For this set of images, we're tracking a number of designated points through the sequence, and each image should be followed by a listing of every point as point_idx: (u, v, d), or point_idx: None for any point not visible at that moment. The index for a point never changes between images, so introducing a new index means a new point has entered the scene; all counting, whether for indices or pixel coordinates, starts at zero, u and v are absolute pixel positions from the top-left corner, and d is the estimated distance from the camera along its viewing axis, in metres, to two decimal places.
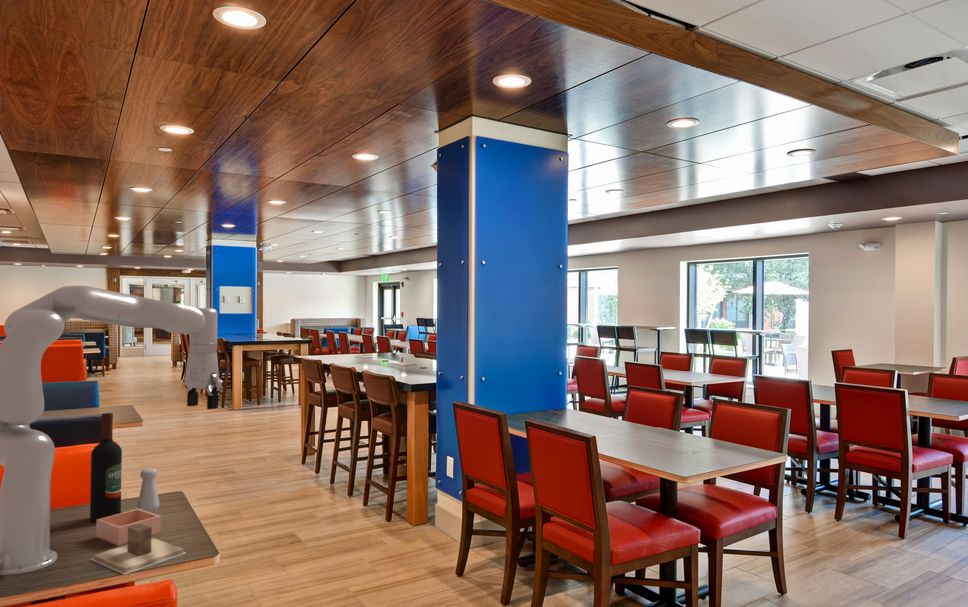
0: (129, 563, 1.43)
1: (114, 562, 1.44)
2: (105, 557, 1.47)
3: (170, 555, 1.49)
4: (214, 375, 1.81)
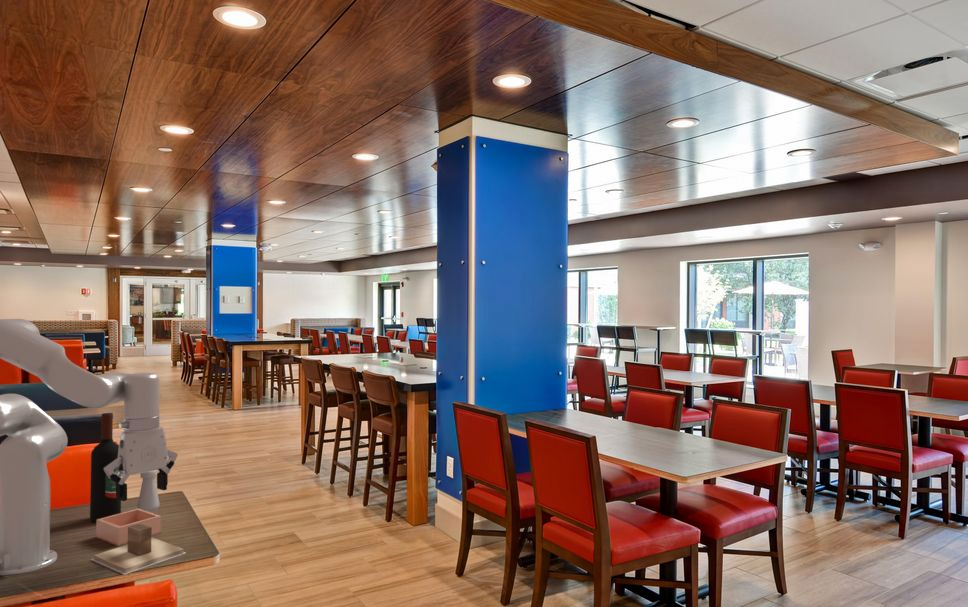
0: (129, 563, 1.43)
1: (114, 562, 1.44)
2: (105, 557, 1.47)
3: (170, 555, 1.49)
4: None
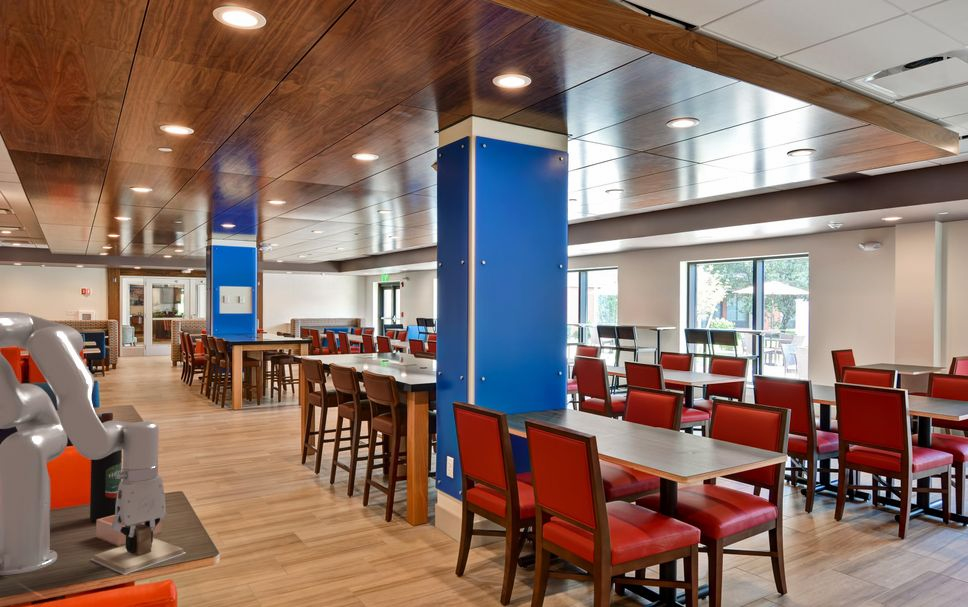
0: (129, 563, 1.43)
1: (114, 562, 1.44)
2: (105, 557, 1.47)
3: (170, 555, 1.49)
4: None
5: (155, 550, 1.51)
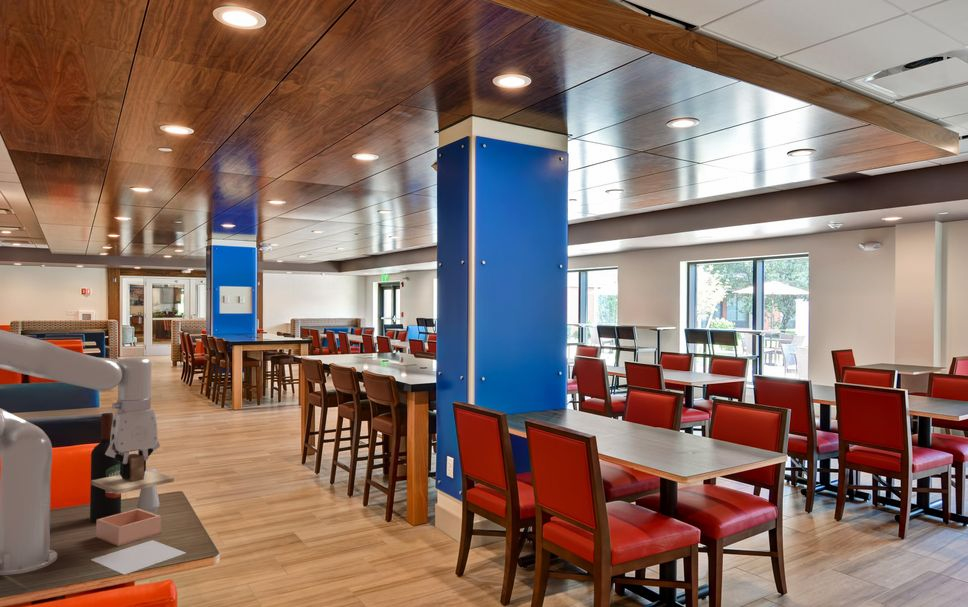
0: (122, 486, 1.53)
1: (108, 485, 1.54)
2: (101, 482, 1.57)
3: (160, 482, 1.59)
4: None
5: (148, 478, 1.61)
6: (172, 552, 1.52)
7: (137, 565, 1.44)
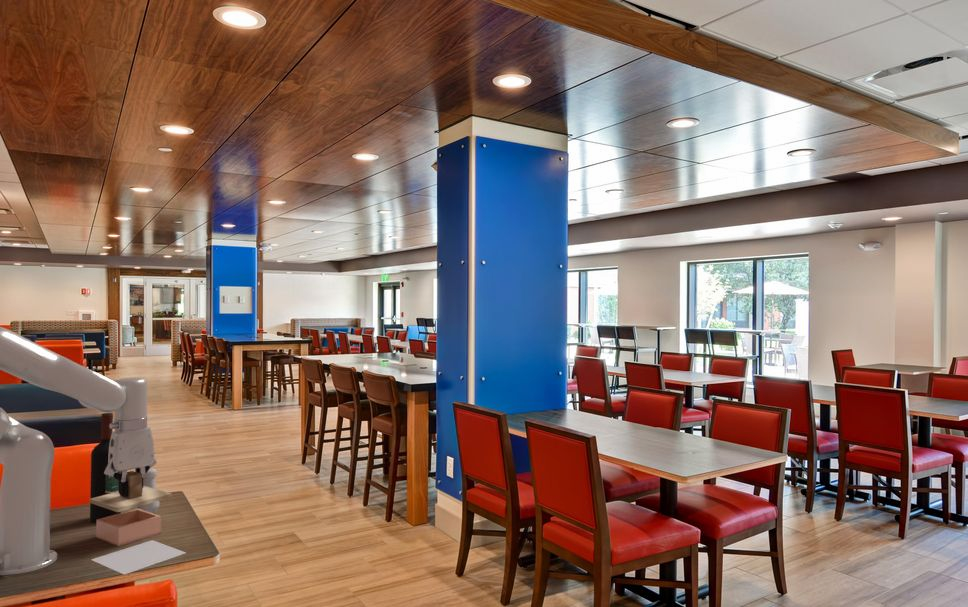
0: (122, 504, 1.57)
1: (108, 503, 1.58)
2: (100, 500, 1.61)
3: (159, 498, 1.63)
4: None
5: (146, 495, 1.65)
6: (172, 552, 1.52)
7: (137, 565, 1.44)
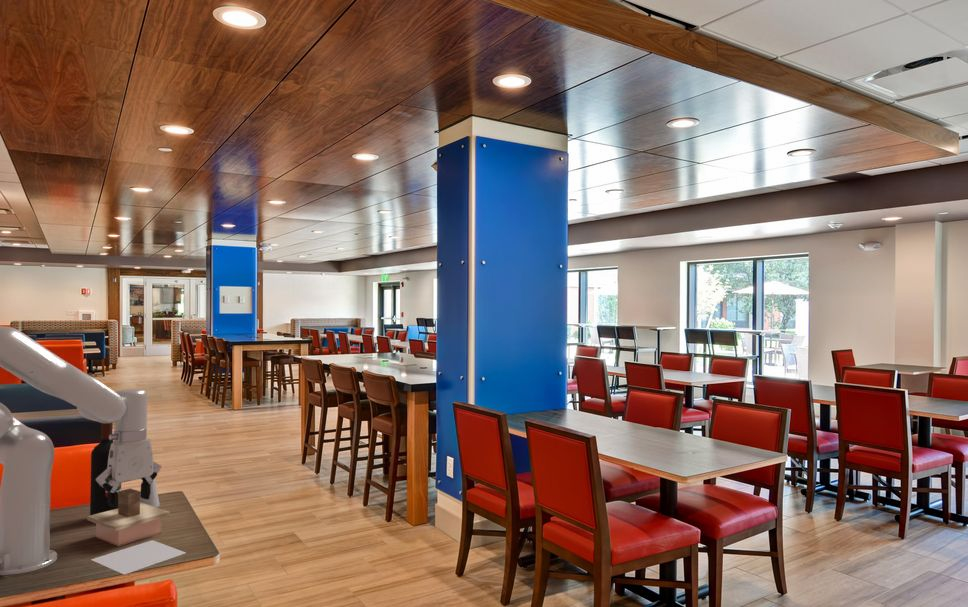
0: (119, 523, 1.57)
1: (105, 522, 1.57)
2: (97, 518, 1.60)
3: (157, 516, 1.63)
4: None
5: (143, 512, 1.65)
6: (172, 552, 1.52)
7: (137, 565, 1.44)
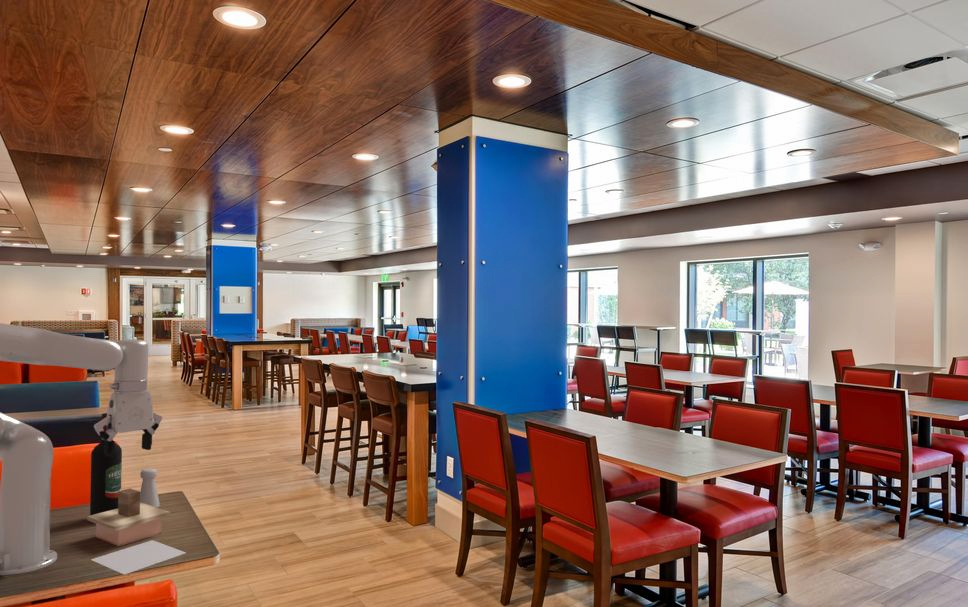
0: (119, 523, 1.57)
1: (105, 522, 1.57)
2: (97, 518, 1.60)
3: (157, 516, 1.63)
4: None
5: (143, 512, 1.65)
6: (172, 552, 1.52)
7: (137, 565, 1.44)
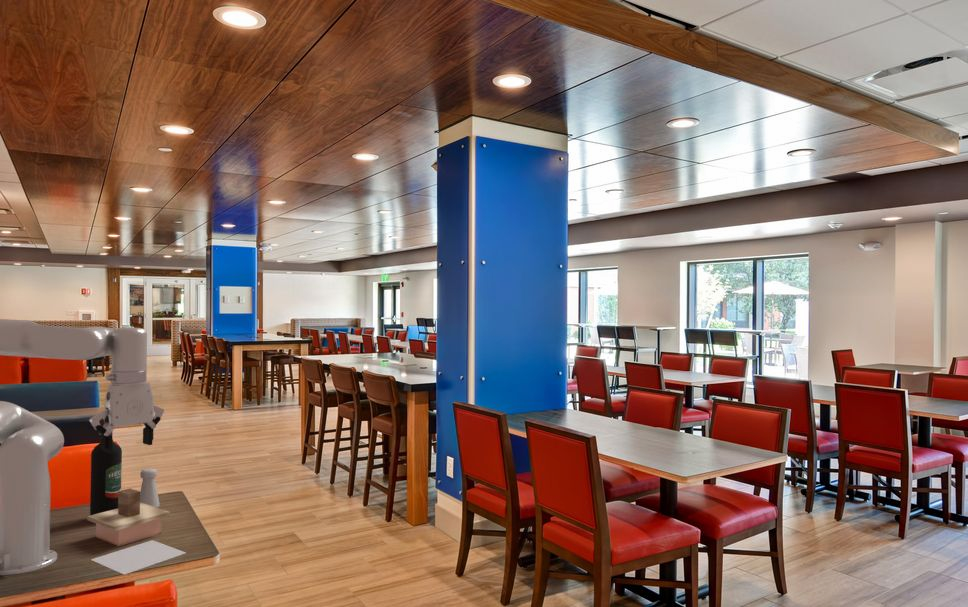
0: (119, 523, 1.57)
1: (105, 522, 1.57)
2: (97, 518, 1.60)
3: (157, 516, 1.63)
4: None
5: (143, 512, 1.65)
6: (172, 552, 1.52)
7: (137, 565, 1.44)
